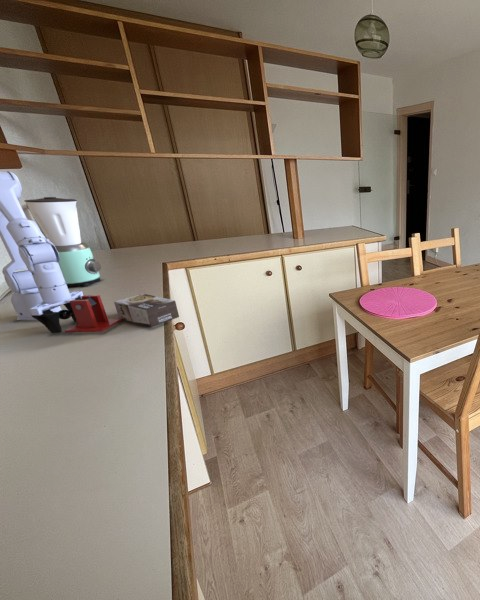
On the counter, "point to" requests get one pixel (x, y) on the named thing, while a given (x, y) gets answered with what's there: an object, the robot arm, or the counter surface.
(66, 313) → the lever
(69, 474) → the counter surface
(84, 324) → the lever bracket
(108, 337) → the counter surface
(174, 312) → the coffee box
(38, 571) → the counter surface
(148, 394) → the counter surface
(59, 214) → the mint green blender
